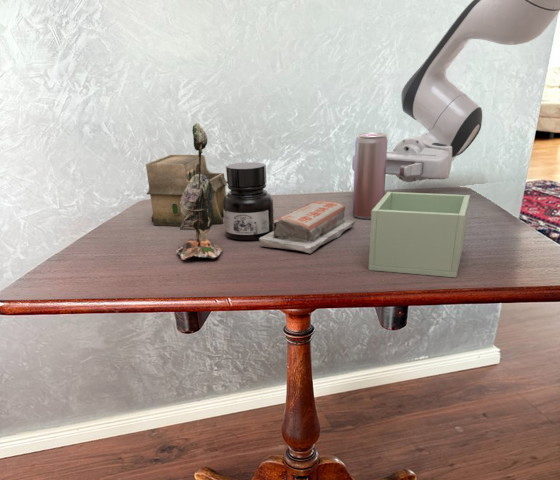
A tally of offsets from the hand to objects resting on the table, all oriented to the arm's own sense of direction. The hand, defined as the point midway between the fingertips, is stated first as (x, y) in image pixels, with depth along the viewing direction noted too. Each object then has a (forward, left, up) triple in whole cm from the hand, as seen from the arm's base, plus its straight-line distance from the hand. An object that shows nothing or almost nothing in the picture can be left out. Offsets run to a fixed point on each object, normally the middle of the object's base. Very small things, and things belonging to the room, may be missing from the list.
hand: (381, 169), depth 107 cm
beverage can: (+1, +4, -8) cm, 9 cm away
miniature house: (+35, +15, -8) cm, 39 cm away
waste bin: (-12, +29, -8) cm, 32 cm away
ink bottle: (+19, +22, -8) cm, 31 cm away
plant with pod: (+23, +34, -8) cm, 42 cm away
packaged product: (+8, +21, -8) cm, 24 cm away
